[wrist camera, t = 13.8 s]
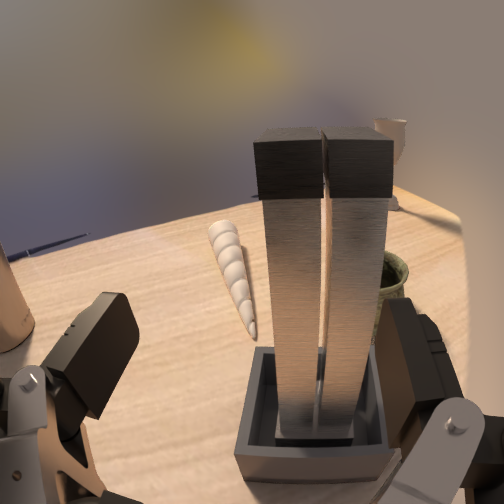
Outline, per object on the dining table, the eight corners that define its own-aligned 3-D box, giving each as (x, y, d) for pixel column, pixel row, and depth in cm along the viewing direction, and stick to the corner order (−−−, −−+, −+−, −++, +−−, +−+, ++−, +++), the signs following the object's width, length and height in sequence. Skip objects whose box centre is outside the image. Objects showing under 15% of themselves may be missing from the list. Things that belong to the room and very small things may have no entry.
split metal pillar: (347, 456, 18) (402, 142, 9) (276, 456, 19) (244, 144, 10) (345, 402, 22) (371, 126, 13) (283, 402, 23) (263, 128, 14)
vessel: (364, 364, 27) (373, 312, 24) (296, 325, 33) (295, 275, 30) (418, 303, 33) (427, 256, 30) (358, 278, 39) (362, 234, 37)
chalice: (410, 208, 59) (414, 121, 50) (388, 214, 57) (390, 121, 49) (388, 198, 65) (389, 118, 57) (365, 203, 63) (365, 118, 55)
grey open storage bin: (376, 480, 16) (394, 452, 14) (243, 480, 18) (233, 453, 16) (367, 384, 24) (376, 344, 22) (260, 385, 26) (255, 346, 24)
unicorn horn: (218, 348, 31) (210, 311, 29) (210, 247, 52) (206, 220, 50) (264, 341, 32) (260, 304, 29) (238, 243, 53) (235, 216, 51)
